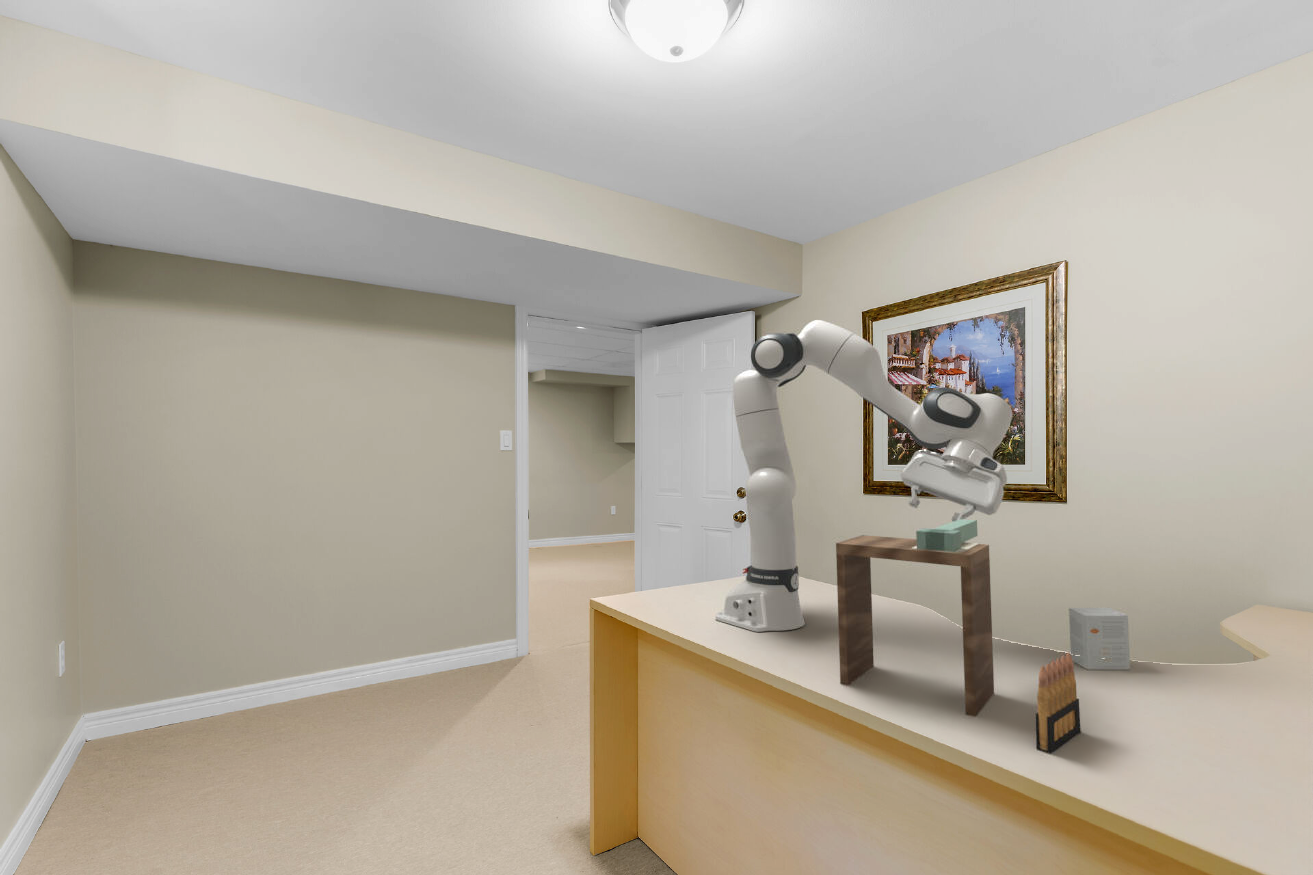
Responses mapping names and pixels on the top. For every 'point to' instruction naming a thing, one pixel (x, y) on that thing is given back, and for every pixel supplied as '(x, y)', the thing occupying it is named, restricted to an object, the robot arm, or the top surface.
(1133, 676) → the top surface
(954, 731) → the top surface
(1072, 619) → the small box
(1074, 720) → the ammunition clip
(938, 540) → the sage lever
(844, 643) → the walnut shelf
